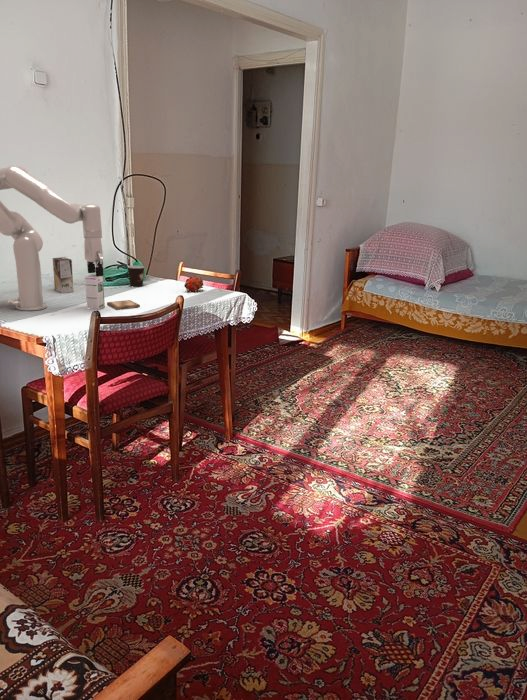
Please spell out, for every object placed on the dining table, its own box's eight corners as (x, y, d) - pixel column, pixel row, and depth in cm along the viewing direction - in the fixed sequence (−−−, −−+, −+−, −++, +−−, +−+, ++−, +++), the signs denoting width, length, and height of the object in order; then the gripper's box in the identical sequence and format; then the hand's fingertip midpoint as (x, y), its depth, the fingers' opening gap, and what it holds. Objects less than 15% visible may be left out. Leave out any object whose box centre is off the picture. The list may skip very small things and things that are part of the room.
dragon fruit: (205, 293, 300) (186, 299, 293) (196, 281, 303) (177, 287, 295) (209, 282, 294) (190, 287, 286) (200, 270, 296) (181, 275, 289)
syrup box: (98, 309, 249) (97, 276, 245) (86, 308, 250) (84, 275, 246) (104, 307, 254) (103, 274, 250) (92, 306, 255) (91, 273, 251)
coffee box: (74, 292, 282) (72, 259, 277) (61, 293, 278) (59, 260, 273) (66, 288, 288) (64, 256, 284) (54, 290, 284) (51, 257, 279)
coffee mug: (139, 283, 309) (139, 265, 306) (147, 286, 302) (147, 267, 299) (120, 285, 302) (119, 266, 299) (127, 288, 295) (127, 269, 292)
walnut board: (116, 309, 250) (116, 307, 250) (107, 304, 259) (106, 302, 258) (139, 307, 256) (139, 304, 256) (129, 302, 265) (129, 299, 264)
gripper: (77, 233, 247) (80, 272, 252) (91, 237, 234) (94, 278, 239) (94, 232, 251) (97, 270, 257) (108, 236, 238) (111, 276, 243)
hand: (95, 274), depth 248 cm, fingers open, 9 cm apart
